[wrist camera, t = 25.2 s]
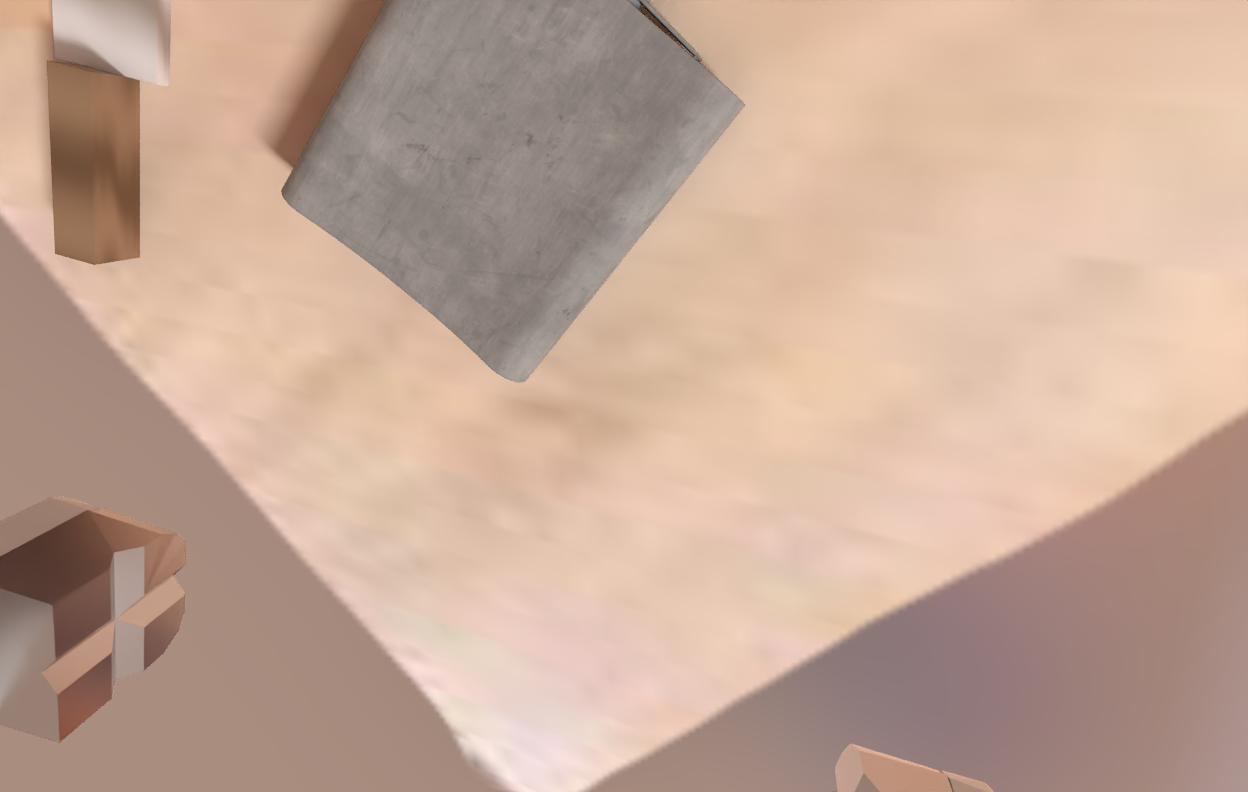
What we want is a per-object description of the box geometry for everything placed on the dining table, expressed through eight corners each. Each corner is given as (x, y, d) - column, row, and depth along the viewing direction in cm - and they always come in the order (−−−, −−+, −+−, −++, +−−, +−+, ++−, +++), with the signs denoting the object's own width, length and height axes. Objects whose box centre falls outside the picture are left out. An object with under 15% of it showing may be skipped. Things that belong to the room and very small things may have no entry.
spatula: (167, 265, 42) (124, 273, 39) (76, 239, 43) (26, 245, 40) (172, -82, 36) (120, -103, 33) (65, -108, 37) (4, -131, 34)
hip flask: (267, 188, 36) (487, -214, 29) (314, 184, 40) (518, -172, 33) (516, 390, 37) (785, 51, 30) (538, 367, 41) (781, 63, 34)
